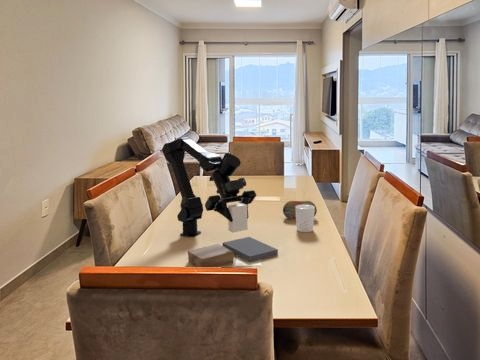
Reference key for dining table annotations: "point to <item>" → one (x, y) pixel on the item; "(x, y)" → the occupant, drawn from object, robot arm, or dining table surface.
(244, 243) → the rubber mat
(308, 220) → the white cup
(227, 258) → the walnut stand
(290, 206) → the tin
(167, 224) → the dining table surface
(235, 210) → the white rectangular block
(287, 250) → the dining table surface
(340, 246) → the dining table surface
